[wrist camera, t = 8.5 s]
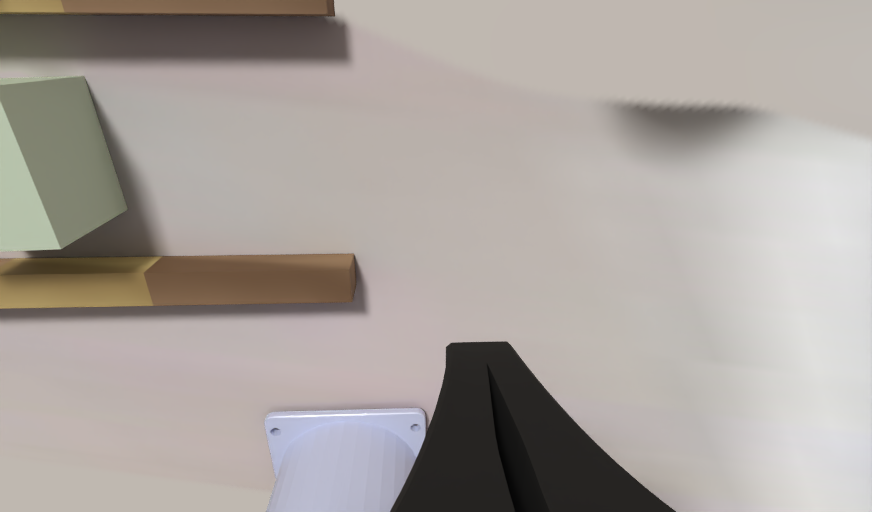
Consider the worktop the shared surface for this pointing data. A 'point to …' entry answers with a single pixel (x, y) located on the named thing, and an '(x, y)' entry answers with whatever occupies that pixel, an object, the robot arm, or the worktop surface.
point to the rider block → (52, 164)
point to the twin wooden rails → (175, 274)
